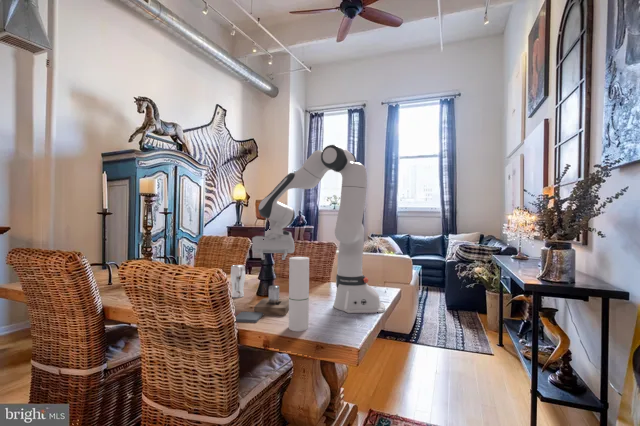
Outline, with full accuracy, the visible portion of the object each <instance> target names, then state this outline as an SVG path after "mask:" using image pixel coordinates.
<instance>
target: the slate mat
mask: <svg viewBox="0 0 640 426" xmlns="http://www.w3.org/2000/svg"><path fill="white" fill-rule="evenodd" d="M263 316H264V315H263V312H254V311H240V312H239V313H238V314H237V315H236V316H235V317H236V321H237V322H239V323H254V324H255V323H258V322H259V320H260V319H261V318H262V317H263ZM237 322H236V323H237Z"/></svg>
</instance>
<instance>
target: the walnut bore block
mask: <svg viewBox="0 0 640 426" xmlns="http://www.w3.org/2000/svg"><path fill="white" fill-rule="evenodd" d="M253 307H254V308H253V312H263V316H264V315H266V316H269V315H270V316H287V314H289V298H279V305H269V297H268V298H265V297H263V298H262V299H260V301H258V302H257V304H255V305H254V306H253Z"/></svg>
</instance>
